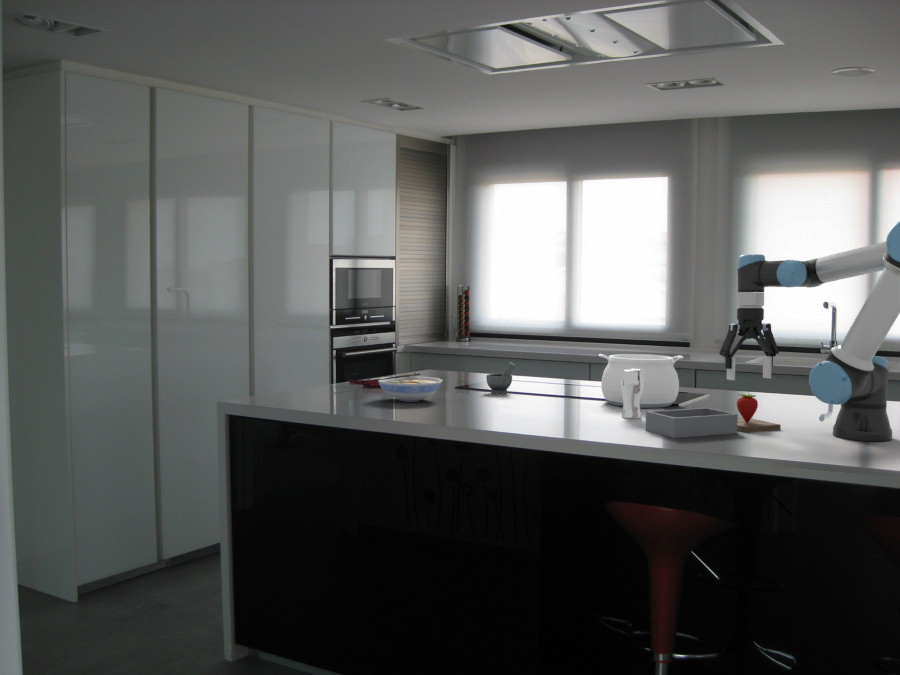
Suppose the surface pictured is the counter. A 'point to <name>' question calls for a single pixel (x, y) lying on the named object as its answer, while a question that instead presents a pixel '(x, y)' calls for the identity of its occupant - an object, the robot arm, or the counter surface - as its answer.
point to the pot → (656, 378)
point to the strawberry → (747, 406)
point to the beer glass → (631, 392)
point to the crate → (691, 422)
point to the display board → (756, 425)
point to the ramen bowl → (409, 386)
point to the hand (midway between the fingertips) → (749, 379)
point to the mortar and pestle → (500, 380)
